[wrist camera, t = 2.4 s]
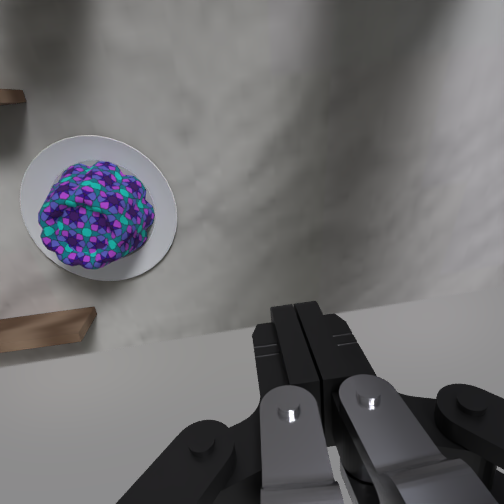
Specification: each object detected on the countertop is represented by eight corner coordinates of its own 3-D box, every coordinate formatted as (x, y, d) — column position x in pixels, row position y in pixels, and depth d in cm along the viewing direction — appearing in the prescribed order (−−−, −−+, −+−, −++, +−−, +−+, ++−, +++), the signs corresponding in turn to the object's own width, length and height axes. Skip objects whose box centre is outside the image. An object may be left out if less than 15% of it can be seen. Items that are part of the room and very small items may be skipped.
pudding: (190, 156, 28) (184, 168, 23) (165, 288, 32) (156, 321, 28) (26, 115, 26) (-18, 119, 21) (22, 262, 30) (-15, 293, 26)
